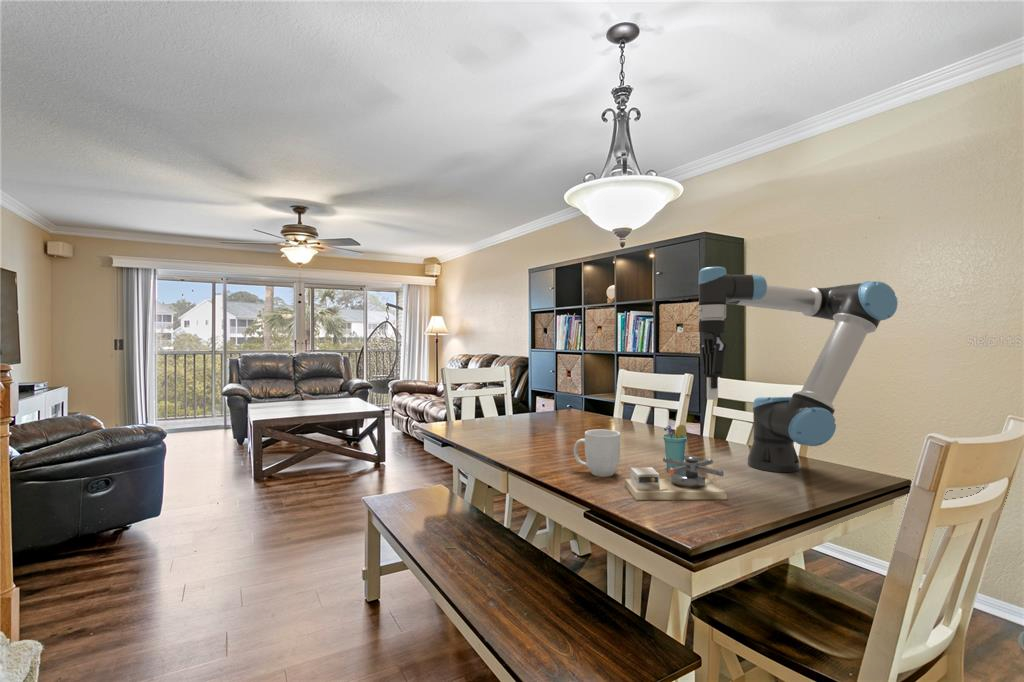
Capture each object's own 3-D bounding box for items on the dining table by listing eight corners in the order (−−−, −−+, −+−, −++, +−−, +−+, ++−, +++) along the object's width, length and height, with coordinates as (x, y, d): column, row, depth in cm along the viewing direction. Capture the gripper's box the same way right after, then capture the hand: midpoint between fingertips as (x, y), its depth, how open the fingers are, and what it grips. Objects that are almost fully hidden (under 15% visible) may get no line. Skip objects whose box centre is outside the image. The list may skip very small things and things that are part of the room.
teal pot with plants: (677, 476, 149) (677, 427, 149) (653, 472, 154) (653, 424, 154) (693, 467, 160) (693, 421, 160) (670, 463, 165) (670, 419, 165)
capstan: (743, 486, 132) (743, 459, 132) (701, 499, 121) (701, 470, 121) (683, 470, 147) (683, 446, 147) (641, 481, 136) (641, 455, 136)
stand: (707, 485, 140) (707, 464, 140) (726, 499, 128) (726, 476, 128) (625, 486, 140) (624, 465, 140) (636, 499, 128) (636, 477, 128)
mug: (568, 474, 152) (568, 433, 152) (579, 466, 162) (579, 427, 161) (615, 480, 145) (615, 437, 145) (624, 471, 155) (624, 430, 155)
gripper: (691, 320, 150) (691, 396, 151) (708, 318, 137) (708, 402, 137) (715, 320, 150) (715, 396, 151) (735, 318, 137) (735, 402, 138)
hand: (712, 399), depth 144 cm, fingers closed
